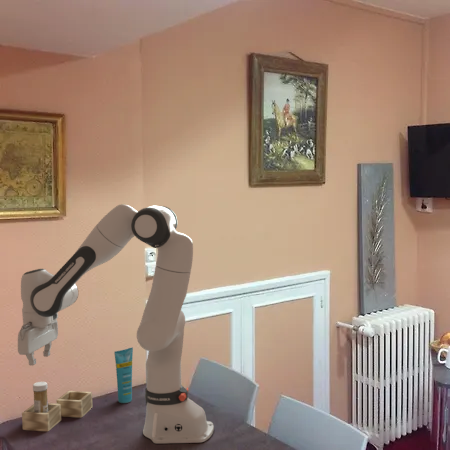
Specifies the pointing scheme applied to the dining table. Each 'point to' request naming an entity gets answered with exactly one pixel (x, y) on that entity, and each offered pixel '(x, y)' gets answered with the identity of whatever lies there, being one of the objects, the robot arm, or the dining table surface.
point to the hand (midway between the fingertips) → (39, 360)
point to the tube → (124, 374)
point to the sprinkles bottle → (40, 397)
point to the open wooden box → (75, 403)
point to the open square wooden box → (41, 418)
